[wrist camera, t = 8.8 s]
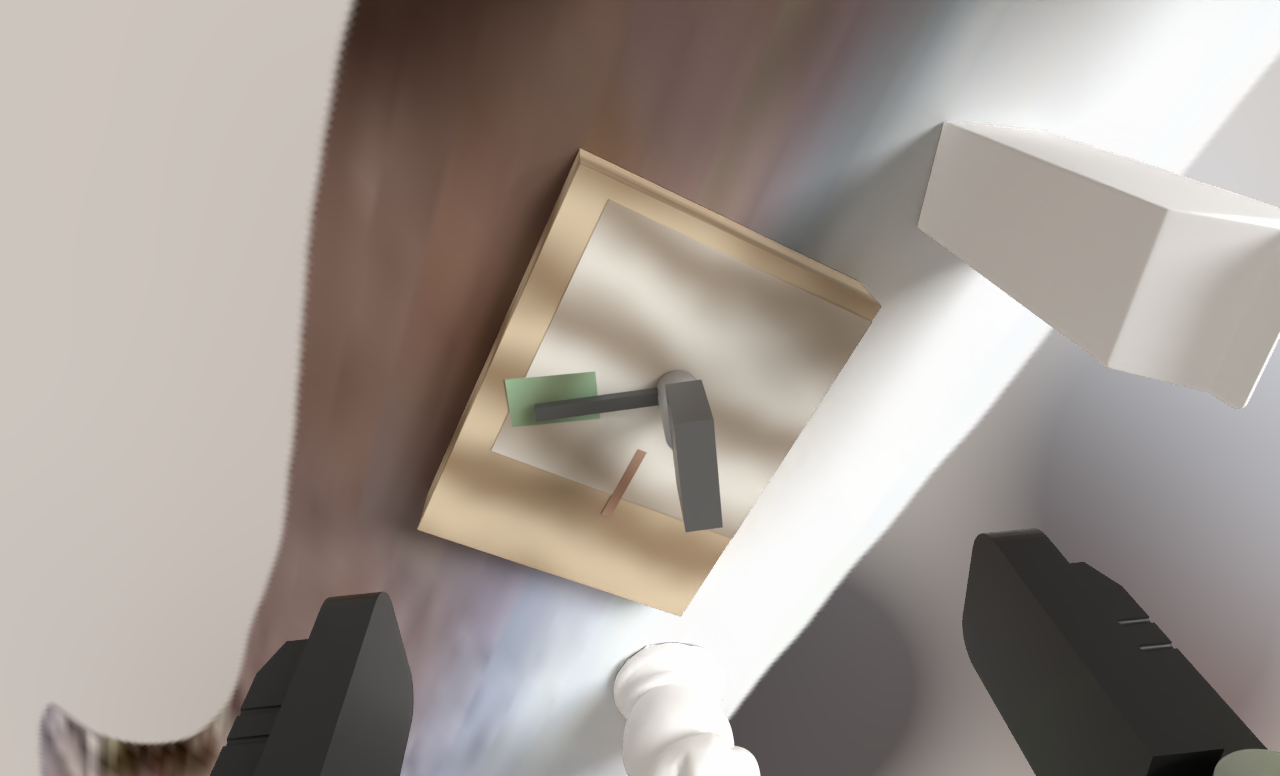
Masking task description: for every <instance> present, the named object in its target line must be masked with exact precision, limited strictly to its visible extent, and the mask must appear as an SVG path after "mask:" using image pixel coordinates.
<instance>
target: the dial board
mask: <svg viewBox="0 0 1280 776" xmlns="http://www.w3.org/2000/svg"><path fill="white" fill-rule="evenodd" d="M880 308H881V305H880V304H879V303H878V302H877V301H876V300H875V299H874V298H873V296H872V295H871V294H870V293H869V292H868V291H867V290H866V289H865V288H864V287H863V286H862V285H861V283H860V282H859V281H856V280H854V279H852V278H850V277H848V276H846V275H844V274H842V273H840V272H838V271H836V270H833V269H831V268H829V267H827V266H825V265H823V264H821V263H819V262H817V261H815V260H813V259H811V258H808V257H806V256H804V255H802V254H800V253H798V252H796V251H794V250H792V249H790V248H788V247H785V246H783V245H781V244H779V243H777V242H775V241H773V240H771V239H769V238H767V237H765V236H762V235H760V234H758V233H756V232H754V231H752V230H750V229H748V228H746V227H744V226H742V225H739V224H737V223H735V222H733V221H731V220H729V219H727V218H725V217H723V216H721V215H719V214H716V213H714V212H712V211H710V210H708V209H706V208H704V207H702V206H700V205H698V204H696V203H694V202H691V201H689V200H687V199H685V198H683V197H681V196H679V195H677V194H675V193H673V192H671V191H668V190H666V189H664V188H662V187H660V186H658V185H656V184H654V183H652V182H650V181H648V180H645V179H643V178H641V177H639V176H637V175H635V174H633V173H631V172H629V171H627V170H625V169H622V168H620V167H618V166H616V165H614V164H612V163H610V162H608V161H606V160H604V159H602V158H600V157H597V156H595V155H593V154H591V153H589V152H587V151H585V150H583V149H581V148H580V149H579V152H578V154H577V156H576V158H575V161H574V163H573V165H572V167H571V170H570V172H569V174H568V177H567V179H566V181H565V183H564V186H563V188H562V190H561V192H560V195H559V197H558V199H557V201H556V204H555V206H554V208H553V210H552V213H551V215H550V217H549V220H548V222H547V224H546V226H545V229H544V231H543V233H542V235H541V238H540V240H539V242H538V244H537V247H536V249H535V251H534V253H533V256H532V258H531V260H530V263H529V265H528V267H527V269H526V272H525V274H524V276H523V278H522V281H521V283H520V285H519V287H518V290H517V292H516V294H515V297H514V299H513V301H512V303H511V306H510V308H509V310H508V312H507V315H506V317H505V319H504V321H503V324H502V326H501V328H500V330H499V333H498V335H497V337H496V340H495V342H494V344H493V346H492V349H491V351H490V353H489V355H488V358H487V360H486V362H485V364H484V367H483V369H482V371H481V373H480V376H479V378H478V380H477V383H476V385H475V387H474V389H473V392H472V394H471V396H470V398H469V401H468V403H467V405H466V407H465V410H464V412H463V414H462V416H461V419H460V421H459V423H458V426H457V428H456V430H455V432H454V435H453V437H452V439H451V441H450V444H449V446H448V448H447V450H446V453H445V455H444V457H443V459H442V462H441V464H440V466H439V469H438V471H437V473H436V475H435V478H434V480H433V482H432V484H431V487H430V489H429V491H428V494H427V498H426V501H425V505H424V508H423V511H422V515H421V518H420V522H419V525H418V529H417V530H420V531H423V532H426V533H429V534H432V535H435V536H438V537H441V538H444V539H447V540H450V541H453V542H456V543H459V544H462V545H465V546H468V547H471V548H474V549H477V550H481V551H484V552H487V553H490V554H493V555H496V556H499V557H502V558H505V559H508V560H511V561H514V562H517V563H520V564H523V565H526V566H529V567H532V568H535V569H538V570H541V571H544V572H547V573H550V574H553V575H556V576H559V577H562V578H565V579H568V580H571V581H574V582H577V583H581V584H584V585H587V586H590V587H593V588H596V589H599V590H602V591H605V592H608V593H611V594H614V595H617V596H620V597H623V598H626V599H629V600H632V601H635V602H638V603H641V604H644V605H647V606H650V607H653V608H656V609H659V610H662V611H665V612H668V613H671V614H674V615H678V616H682V614H683V613H684V611H685V610H686V608H687V607H688V605H689V603H690V602H691V600H692V599H693V597H694V596H695V594H696V593H697V591H698V590H699V588H700V586H701V585H702V583H703V582H704V580H705V579H706V577H707V576H708V574H709V572H710V571H711V569H712V568H713V566H714V565H715V563H716V562H717V560H718V559H719V557H720V555H721V554H722V552H723V551H724V549H725V548H726V546H727V545H728V543H729V541H730V540H731V538H733V537H734V535H735V534H736V532H737V530H738V529H739V527H740V526H741V524H742V523H743V521H744V520H745V518H746V517H747V515H748V513H749V512H750V510H751V509H752V507H753V506H754V504H755V503H756V501H757V500H758V498H759V496H760V495H761V493H762V492H763V490H764V489H765V487H766V486H767V484H768V483H769V481H770V479H771V478H772V476H773V475H774V473H775V472H776V470H777V469H778V467H779V465H780V464H781V462H782V461H783V459H784V458H785V456H786V455H787V453H788V452H789V450H790V448H791V447H792V445H793V444H794V442H795V441H796V439H797V438H798V436H799V435H800V433H801V431H802V430H803V428H804V427H805V425H806V424H807V422H808V421H809V419H810V418H811V416H812V414H813V413H814V411H815V410H816V408H817V407H818V405H819V404H820V402H821V400H822V399H823V397H824V396H825V394H826V393H827V391H828V390H829V388H830V387H831V385H832V383H833V382H834V380H835V379H836V377H837V376H838V374H839V373H840V371H841V370H842V368H843V366H844V365H845V363H846V362H847V360H848V359H849V357H850V356H851V354H852V353H853V351H854V349H855V348H856V346H857V345H858V343H859V342H860V340H861V339H862V337H863V335H864V334H865V332H866V331H867V329H868V328H869V326H870V325H871V323H872V320H873V318H874V317H875V315H876V314H877V312H878V311H879V309H880ZM676 370H682V371H686V372H689V373H690V374H692V375H693V376H694V377H695V378H696V379H697V380H702V383H703V386H704V389H705V393H706V396H707V399H708V402H709V406H710V409H711V412H712V415H713V419H714V429H715V441H716V452H717V464H718V476H719V488H720V500H721V511H722V523H723V527H722V528H715V529H707V530H700V531H693V532H685V526H684V521H683V516H682V511H681V506H680V501H679V496H678V491H677V485H676V476H675V468H674V459H673V450H672V449H671V448H670V447H669V446H668V444H667V443H666V440H665V434H664V429H663V424H662V419H661V413H660V408H659V405H657V406H650V407H643V408H635V409H628V410H620V411H613V412H606V413H598V414H591V415H583V416H576V417H569V418H561V419H554V420H546V421H539V422H537V420H536V415H535V410H534V407H535V404H539V403H547V402H554V401H561V400H569V399H576V398H584V397H591V396H598V395H606V394H613V393H621V392H628V391H636V390H643V389H650V388H657V384H658V382H659V380H660V379H661V378H662V377H663V376H664V375H665V374H667V373H669V372H671V371H676Z"/></svg>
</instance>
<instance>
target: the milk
mask: <svg viewBox="0 0 1280 776" xmlns="http://www.w3.org/2000/svg"><path fill="white" fill-rule="evenodd" d="M918 228H919V229H920V230H922V231H923V232H924V233H926V234H927V235H928V236H930V237H931V238H932V239H934V240H935V241H936V242H938V243H939V244H941V245H942V246H943V247H945V248H946V249H947V250H949V251H950V252H951V253H953V254H954V255H955V256H957V257H958V258H959V259H961V260H962V261H964V262H965V263H966V264H968V265H969V266H970V267H972V268H973V269H974V270H976V271H977V272H978V273H980V274H981V275H982V276H984V277H985V278H986V279H988V280H989V281H991V282H992V283H993V284H995V285H996V286H997V287H999V288H1000V289H1001V290H1003V291H1004V292H1005V293H1007V294H1008V295H1009V296H1011V297H1012V298H1013V299H1015V300H1016V301H1018V302H1019V303H1020V304H1022V305H1023V306H1024V307H1026V308H1027V309H1028V310H1030V311H1031V312H1032V313H1034V314H1035V315H1036V316H1038V317H1039V318H1041V319H1042V320H1043V321H1045V322H1046V323H1047V324H1049V325H1050V326H1051V327H1053V328H1054V329H1055V330H1057V331H1058V332H1060V333H1061V334H1062V335H1063V336H1065V337H1066V338H1068V339H1069V340H1070V341H1072V342H1073V343H1074V344H1076V345H1077V346H1078V347H1080V348H1081V349H1082V350H1084V351H1085V352H1086V353H1088V354H1089V355H1090V356H1092V357H1093V358H1095V359H1096V360H1097V361H1099V362H1100V363H1101V364H1103V365H1104V366H1106V367H1107V368H1110V369H1114V370H1118V371H1122V372H1126V373H1130V374H1134V375H1138V376H1142V377H1147V378H1150V379H1155V380H1159V381H1163V382H1167V383H1171V384H1175V385H1179V386H1184V387H1187V388H1191V389H1196V390H1200V391H1204V392H1208V393H1210V394H1212V395H1213V396H1215V397H1217V398H1218V399H1220V400H1221V401H1223V402H1224V403H1226V404H1227V405H1229V406H1230V407H1232V408H1235V409H1241V408H1244V407H1245V406H1246V405H1247V404H1248V402H1249V400H1250V398H1251V396H1252V394H1253V391H1254V390H1255V388H1256V385H1257V383H1258V381H1259V379H1260V377H1261V375H1262V373H1263V371H1264V369H1265V367H1266V365H1267V363H1268V361H1269V359H1270V356H1271V355H1272V353H1273V351H1274V349H1275V346H1276V344H1277V342H1278V340H1279V338H1280V208H1279V207H1276V206H1273V205H1270V204H1267V203H1264V202H1260V201H1258V200H1255V199H1251V198H1249V197H1246V196H1242V195H1240V194H1237V193H1233V192H1231V191H1228V190H1224V189H1221V188H1218V187H1215V186H1212V185H1209V184H1206V183H1203V182H1200V181H1197V180H1194V179H1191V178H1188V177H1185V176H1182V175H1179V174H1176V173H1173V172H1170V171H1167V170H1164V169H1161V168H1158V167H1155V166H1152V165H1149V164H1146V163H1143V162H1140V161H1137V160H1134V159H1131V158H1128V157H1125V156H1122V155H1119V154H1116V153H1113V152H1109V151H1106V150H1103V149H1100V148H1097V147H1094V146H1091V145H1088V144H1085V143H1082V142H1079V141H1076V140H1073V139H1070V138H1067V137H1064V136H1061V135H1058V134H1055V133H1052V132H1049V131H1045V130H1035V129H1025V128H1014V127H1004V126H993V125H982V124H972V123H961V122H951V121H945V122H944V124H943V127H942V131H941V135H940V139H939V143H938V147H937V151H936V155H935V159H934V163H933V167H932V171H931V174H930V178H929V182H928V186H927V190H926V194H925V198H924V202H923V206H922V210H921V214H920V218H919V222H918Z"/></svg>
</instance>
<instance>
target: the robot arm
mask: <svg viewBox="0 0 1280 776" xmlns="http://www.w3.org/2000/svg"><path fill="white" fill-rule="evenodd" d="M962 622H963V623H962V624H963V625H962V626H963V635H964V641H965V645H966V649H967V652H968V655H969V658H970V660H971V663H972V664H973V666H974V668H975V670H976V672H977V673H978V675H979V677H980V679H981V680H982V682H983V684H984V686H985V687H986V689H987V691H988V693H989V694H990V696H991V698H992V700H993V701H994V703H995V705H996V707H997V708H998V710H999V712H1000V714H1001V715H1002V717H1003V719H1004V721H1005V722H1006V724H1007V726H1008V728H1009V729H1010V731H1011V733H1012V735H1013V736H1014V738H1015V740H1016V742H1017V743H1018V745H1019V747H1020V748H1021V750H1022V752H1023V754H1024V755H1025V757H1026V759H1027V761H1028V762H1029V764H1030V766H1031V768H1032V769H1033V771H1034V773H1035V774H1036V776H1280V752H1277V751H1271V750H1268V749H1267V748H1266V747H1265V746H1264V745H1263V744H1262V743H1261V742H1260V741H1259V739H1258V738H1257V737H1256V736H1255V735H1254V734H1253V733H1252V732H1251V730H1250V729H1249V728H1248V727H1247V726H1246V725H1245V724H1244V723H1243V721H1242V720H1241V719H1240V718H1239V717H1238V716H1237V715H1236V714H1235V713H1234V711H1233V710H1232V709H1231V708H1230V707H1229V706H1228V705H1227V704H1226V702H1225V701H1224V700H1223V699H1222V698H1221V697H1220V696H1219V695H1218V693H1217V692H1216V691H1215V690H1214V689H1213V688H1212V687H1211V686H1210V684H1209V683H1208V682H1207V681H1206V680H1205V679H1204V678H1203V677H1202V676H1201V674H1200V673H1199V672H1198V671H1197V670H1196V669H1195V668H1194V667H1193V665H1192V664H1191V663H1190V662H1189V661H1188V660H1187V659H1186V658H1185V657H1184V655H1183V654H1182V653H1181V652H1180V651H1179V650H1178V649H1174V648H1173V647H1172V644H1171V641H1170V640H1169V638H1168V637H1167V636H1166V635H1165V634H1164V633H1163V632H1162V631H1161V630H1160V629H1159V627H1158V626H1157V625H1156V624H1155V623H1151V622H1150V621H1149V616H1148V615H1147V614H1146V613H1145V611H1144V610H1143V609H1142V608H1141V607H1140V606H1139V605H1138V604H1137V603H1136V602H1135V600H1134V599H1133V598H1132V597H1131V596H1130V595H1129V594H1128V592H1127V591H1126V590H1125V589H1124V588H1123V587H1122V586H1121V585H1119V584H1118V583H1116V582H1114V581H1113V580H1111V579H1110V578H1108V577H1107V576H1105V575H1103V574H1102V573H1100V572H1099V571H1097V570H1096V569H1094V568H1092V567H1091V566H1089V565H1088V564H1086V563H1085V562H1079V563H1069V562H1068V561H1067V560H1066V559H1065V557H1064V556H1063V555H1062V554H1061V553H1060V552H1059V550H1058V549H1057V548H1056V547H1055V545H1054V544H1053V543H1052V542H1051V541H1050V539H1049V538H1048V537H1047V536H1046V535H1045V534H1044V533H1043V532H1042V531H1040V530H1039V529H1036V528H1031V529H1021V530H1011V531H1001V532H991V533H982V534H979V535H978V536H977V537H976V539H975V541H974V545H973V550H972V557H971V564H970V571H969V577H968V584H967V591H966V598H965V604H964V612H963V620H962ZM412 715H413V682H412V675H411V671H410V667H409V664H408V660H407V656H406V653H405V649H404V645H403V642H402V638H401V634H400V631H399V627H398V623H397V620H396V616H395V613H394V609H393V605H392V602H391V599H390V597H389V596H388V594H387V593H386V592H377V593H367V594H357V595H347V596H337V597H329V598H327V599H326V600H325V601H324V603H323V605H322V607H321V609H320V612H319V614H318V617H317V619H316V621H315V624H314V626H313V629H312V631H311V634H310V636H309V639H305V640H295V641H287V642H286V643H285V644H284V645H283V646H282V647H281V648H280V649H279V650H278V651H277V652H276V653H275V655H274V656H273V657H272V658H271V659H270V660H269V661H268V662H267V663H266V664H265V665H264V666H263V667H262V668H261V669H260V671H259V672H258V673H257V674H256V676H255V678H254V681H253V683H252V685H251V687H250V689H249V692H248V694H247V696H246V698H245V700H244V702H243V705H242V707H241V715H240V716H237V718H236V720H235V722H234V724H233V726H232V729H231V731H230V733H229V735H228V737H227V746H223V748H222V750H221V752H220V755H219V757H218V759H217V761H216V763H215V766H214V768H213V770H212V772H211V774H210V776H400V772H401V767H402V763H403V758H404V754H405V749H406V745H407V740H408V736H409V731H410V727H411V722H412Z"/></svg>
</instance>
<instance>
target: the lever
mask: <svg viewBox="0 0 1280 776" xmlns="http://www.w3.org/2000/svg"><path fill="white" fill-rule="evenodd" d="M657 405H659V408H660V413H661V419H662V424H663V429H664V434H665V440H666V443H667V444H668V446H669V447H670V448H671V449H672V450H673V459H674V468H675V476H676V485H677V491H678V496H679V501H680V506H681V511H682V516H683V521H684V526H685V532H693V531H700V530H707V529H715V528H722V527H723V523H722V511H721V500H720V488H719V476H718V464H717V452H716V441H715V429H714V419H713V415H712V412H711V409H710V406H709V402H708V399H707V396H706V393H705V389H704V386H703V383H702V380H697V379H696V378H695V377H694V376H693V375H692V374H690V373H689V372H686V371H682V370H676V371H671V372H669V373H667V374H665V375H664V376H663V377H662V378H661V379H660V380H659V382H658V384H657V388H650V389H643V390H636V391H628V392H621V393H613V394H606V395H598V396H591V397H584V398H576V399H569V400H561V401H554V402H547V403H539V404H535V407H534V410H535V415H536V420H537V422H539V421H546V420H554V419H561V418H569V417H576V416H583V415H591V414H598V413H606V412H613V411H620V410H628V409H635V408H643V407H650V406H657Z"/></svg>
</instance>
